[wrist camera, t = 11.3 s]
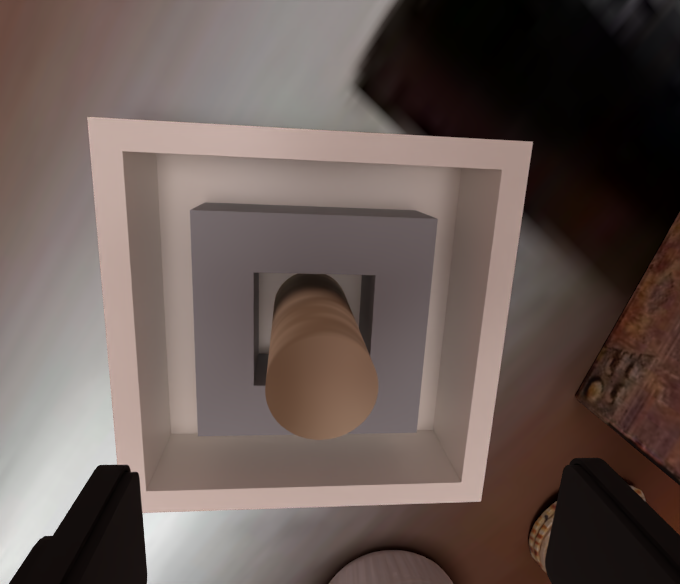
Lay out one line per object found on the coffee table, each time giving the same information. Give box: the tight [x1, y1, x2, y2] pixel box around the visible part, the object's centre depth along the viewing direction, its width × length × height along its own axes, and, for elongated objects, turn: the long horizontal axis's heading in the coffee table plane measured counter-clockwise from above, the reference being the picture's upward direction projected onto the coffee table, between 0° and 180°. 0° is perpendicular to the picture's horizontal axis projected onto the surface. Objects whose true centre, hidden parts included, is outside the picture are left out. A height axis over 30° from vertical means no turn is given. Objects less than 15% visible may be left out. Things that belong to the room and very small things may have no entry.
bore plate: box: [190, 202, 438, 436], centre depth 24 cm, size 11×11×4 cm
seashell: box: [529, 485, 646, 573], centre depth 33 cm, size 8×6×8 cm
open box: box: [87, 117, 533, 513], centre depth 24 cm, size 18×18×6 cm
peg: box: [265, 274, 378, 440], centre depth 22 cm, size 4×4×10 cm
